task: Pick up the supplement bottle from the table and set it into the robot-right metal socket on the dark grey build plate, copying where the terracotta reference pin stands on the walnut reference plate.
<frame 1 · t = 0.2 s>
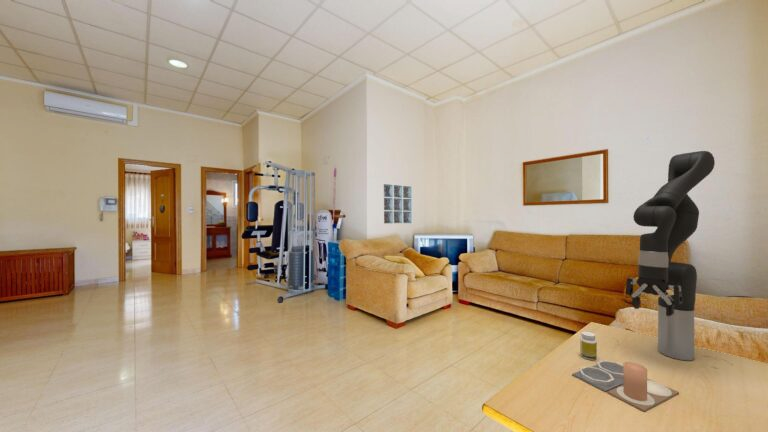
hand: (652, 311, 99), 17 cm above the table, tool pointing down, fingers open, 8 cm apart
layout board: (623, 384, 87), on the table
supplement bottle: (588, 357, 103), on the table
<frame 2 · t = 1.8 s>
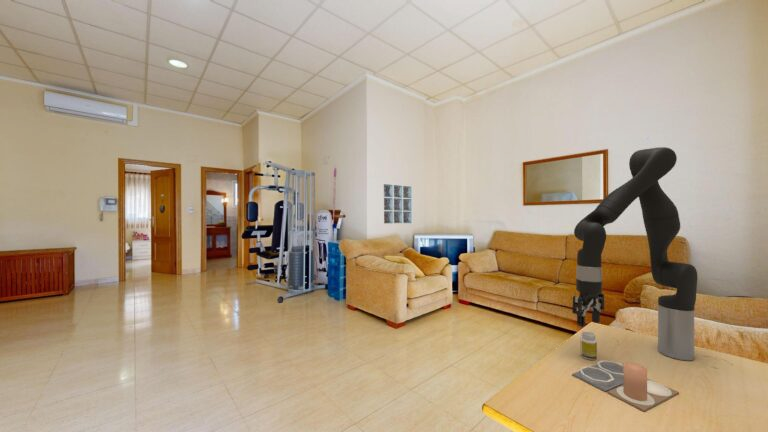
hand: (588, 324, 103), 12 cm above the table, tool pointing down, fingers open, 8 cm apart
nothing on the table moved.
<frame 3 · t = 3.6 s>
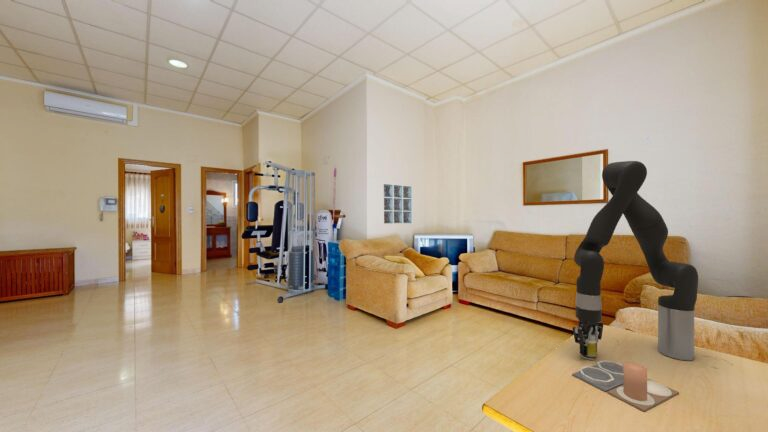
hand: (588, 353, 103), 1 cm above the table, tool pointing down, fingers closed on supplement bottle, 4 cm apart
supplement bottle: (588, 357, 103), on the table, touching gripper
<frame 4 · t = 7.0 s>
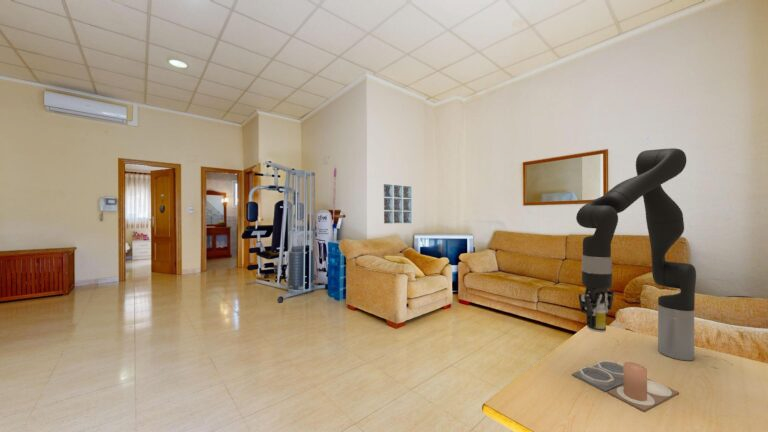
hand: (596, 325, 89), 17 cm above the table, tool pointing down, fingers closed on supplement bottle, 4 cm apart
supplement bottle: (596, 330, 89), point 15 cm above the table, touching gripper
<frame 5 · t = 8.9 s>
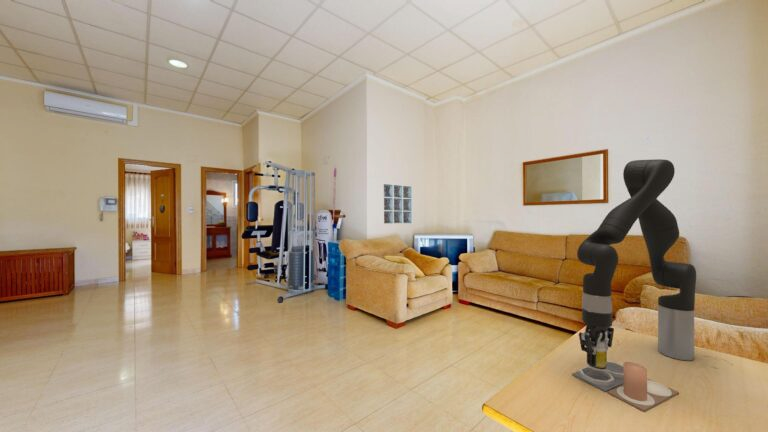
hand: (596, 362, 89), 5 cm above the table, tool pointing down, fingers closed on supplement bottle, 4 cm apart
supplement bottle: (596, 367, 90), point 4 cm above the table, touching gripper
when the fingers open (3 cm above the table, at t = 10.2 s): supplement bottle drops 1 cm, resting on layout board.
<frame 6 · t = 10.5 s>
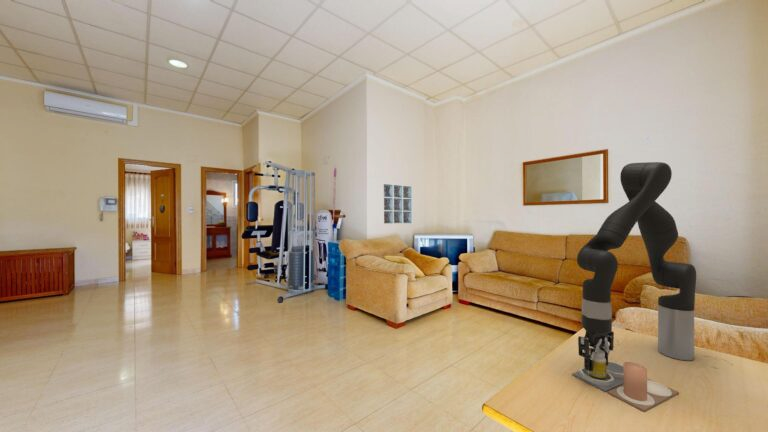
hand: (596, 367, 90), 4 cm above the table, tool pointing down, fingers open, 7 cm apart
supplement bottle: (596, 378, 90), resting on layout board
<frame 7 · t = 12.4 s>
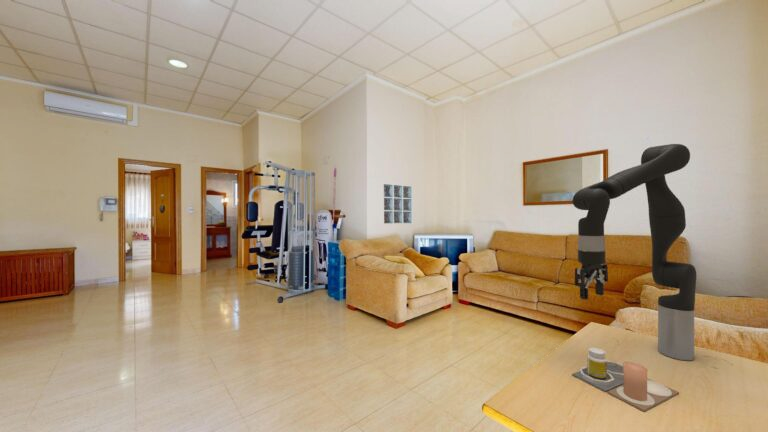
hand: (591, 296, 97), 23 cm above the table, tool pointing down, fingers open, 8 cm apart
nothing on the table moved.
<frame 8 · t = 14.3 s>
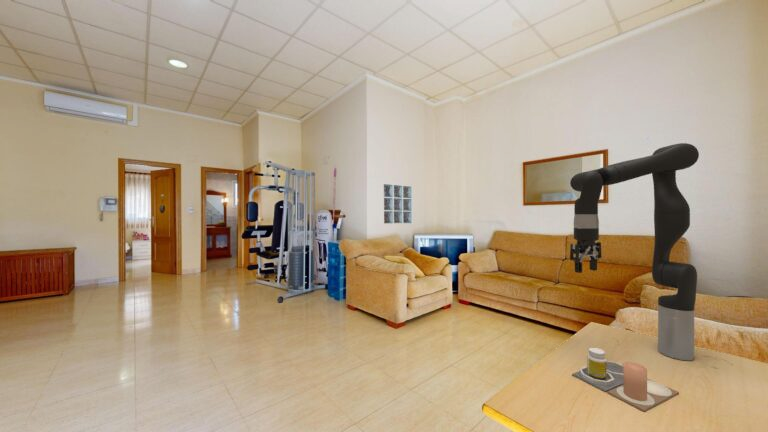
hand: (586, 271, 105), 30 cm above the table, tool pointing down, fingers open, 8 cm apart
nothing on the table moved.
at the end: supplement bottle 0.2 cm from the target spot on the layout board, point 0.3 cm above the layout board's base; supplement bottle tilted 0°; the gripper is holding nothing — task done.
